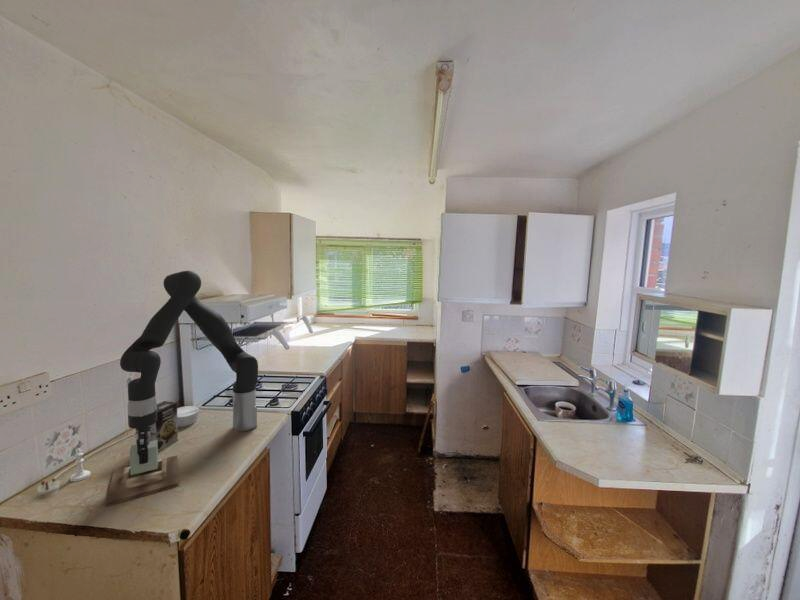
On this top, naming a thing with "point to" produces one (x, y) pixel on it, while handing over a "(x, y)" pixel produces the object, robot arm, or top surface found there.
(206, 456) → the top surface
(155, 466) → the key block
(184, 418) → the ramekin
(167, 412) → the coffee box
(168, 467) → the board
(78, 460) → the chess piece
